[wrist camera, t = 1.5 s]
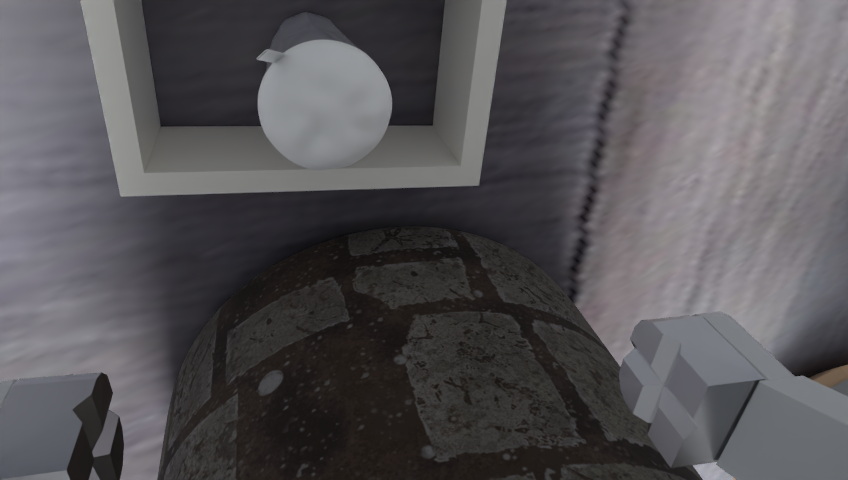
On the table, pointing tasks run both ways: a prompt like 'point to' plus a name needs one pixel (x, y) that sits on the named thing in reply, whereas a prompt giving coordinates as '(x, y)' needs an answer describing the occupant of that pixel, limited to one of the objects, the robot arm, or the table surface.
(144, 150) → the frame
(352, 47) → the milkshake
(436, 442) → the planter
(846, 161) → the table surface
